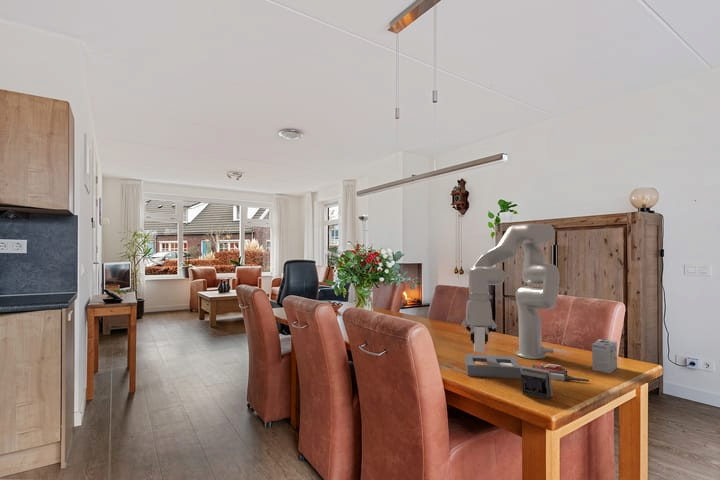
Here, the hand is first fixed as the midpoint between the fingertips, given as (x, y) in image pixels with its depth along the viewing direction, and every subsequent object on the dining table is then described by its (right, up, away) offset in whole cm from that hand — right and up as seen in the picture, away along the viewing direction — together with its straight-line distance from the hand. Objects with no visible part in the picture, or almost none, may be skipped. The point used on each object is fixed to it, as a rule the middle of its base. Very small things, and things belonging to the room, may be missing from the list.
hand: (479, 342), depth 153 cm
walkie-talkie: (+27, -11, -9) cm, 31 cm away
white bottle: (0, -3, 0) cm, 3 cm away
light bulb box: (+51, -11, 0) cm, 52 cm away
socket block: (+5, -11, -1) cm, 12 cm away
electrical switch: (+10, -10, -28) cm, 31 cm away
